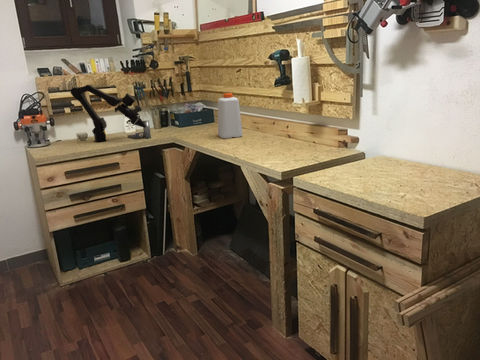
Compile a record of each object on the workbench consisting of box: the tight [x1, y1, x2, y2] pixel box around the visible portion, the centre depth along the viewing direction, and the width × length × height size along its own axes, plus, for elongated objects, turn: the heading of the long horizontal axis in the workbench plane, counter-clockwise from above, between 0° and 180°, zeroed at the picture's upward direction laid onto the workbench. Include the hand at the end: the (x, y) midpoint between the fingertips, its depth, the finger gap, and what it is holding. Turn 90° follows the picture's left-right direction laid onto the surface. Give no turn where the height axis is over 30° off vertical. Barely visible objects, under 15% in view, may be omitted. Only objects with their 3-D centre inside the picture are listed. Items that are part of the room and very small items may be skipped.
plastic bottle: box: [217, 92, 244, 139], centre depth 261 cm, size 15×15×28 cm
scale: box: [126, 131, 145, 140], centre depth 278 cm, size 11×13×4 cm
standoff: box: [142, 119, 152, 140], centre depth 270 cm, size 4×4×12 cm
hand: (145, 126), depth 269 cm, fingers open, 9 cm apart
